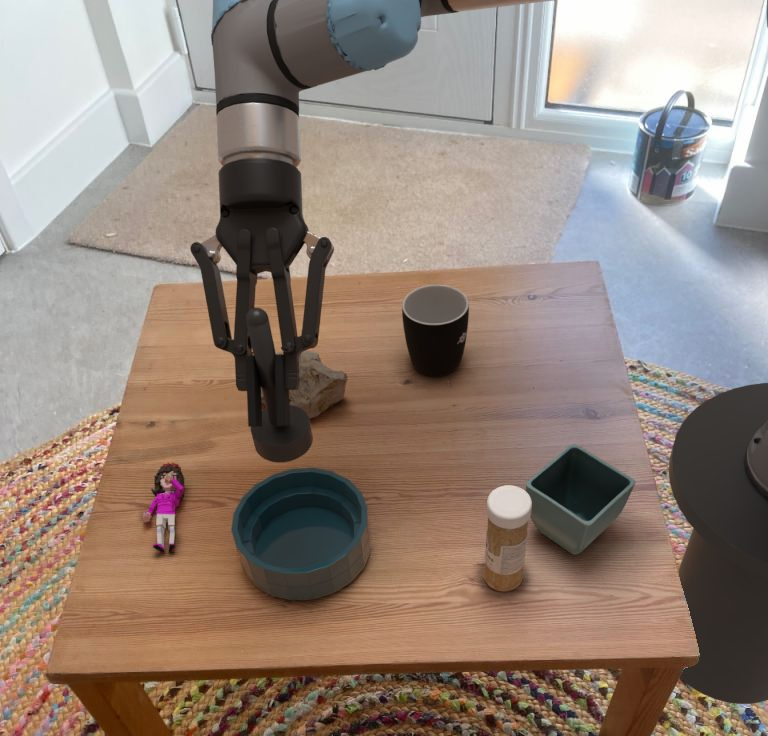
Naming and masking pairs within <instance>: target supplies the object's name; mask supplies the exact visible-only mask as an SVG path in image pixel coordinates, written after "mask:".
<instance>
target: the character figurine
mask: <svg viewBox="0 0 768 736" xmlns="http://www.w3.org/2000/svg"><path fill="white" fill-rule="evenodd" d="M179 465H180V464H179V463H174V462H167V463H162V465H160V466H159V469H158V470H157V472H156V474H155V475H154V476H153V478H154V480H153V481H154V483H153V484H154V488H151V489H150V491H151V493H152V494H153V495H154V496H155V497H154V498H153V500H152V502H151V504H150V505H149V507H148V510H147V511H145V512H143V514H142V516H141V519H142V522H143V523H147V522H150V521H151V519H152V515H153V513H154V511H155V523H156V525H155V526H156V541H157V542H156V543H153V544H152V548H153V549H155V551H157V552H159V554H160V553H164V552H165V550H166V549H165V541H166V539H165V530H166V529H167V531H168V532H169V541H168V553H174V550H175V537H176V530H175V527H176V525H175V523H176V522H175V521H176V508H178V507H179V505H180V504H179V503H180V501H181V500H182V498H183V497H185V494H184V490H185V476H184V474H183V472H182V467H181V466H179ZM155 509H156V510H155Z"/></svg>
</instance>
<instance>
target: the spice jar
mask: <svg viewBox="0 0 768 736" xmlns="http://www.w3.org/2000/svg"><path fill="white" fill-rule="evenodd" d="M531 509H532V501H531V498H530V496H529V494H528V493H527V492H526V489H524V488H522V487H519V486H517V485H510V484H507V485H501V486H498V487H496V488H494V489H493V490H492V491H490V493H489V495H488V497H487V501H486V516H487V527H486V536H485V549H484V568H483V571H482V577H483V580H484V582H485V584H486V585H487V586H488V587H489V588H492V589H493V590H495V591H497V592H509V591H510V592H511V591H513V590H515V589H517V588H518V587H519V586H520V585H521V584H522V581H523V579H524V573H523V572H524V571H523V570H524V564H525V558H526V550H527V542H528V535H529V534H528V529H529V520H530V519H531V518H530V516H531Z"/></svg>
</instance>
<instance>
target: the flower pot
mask: <svg viewBox="0 0 768 736" xmlns="http://www.w3.org/2000/svg"><path fill="white" fill-rule="evenodd" d="M635 485H636V479H634V478H633V477H632V476H630V475H628V474H626V473H625V472H623V471H621V470H619V469H617V468H616V467H614V466H613V465H611V464H610V463H608V462H607V461H604V459H601V458H600V457H598V456H597V455H595V454H594V453H592V452H590V451H588V450H587V449H586V448H584V447H582V446H581V445H579V444H576V443H572V444H569V445H568V446H567V447H566V448H565V449H563V450H562V451H561V452H560V453H559V454H557V456H556V457H555V458H553V459H552V460H551V461H550V462H549V463H548V464H546V465H545V466H544V467H543V468H542V469H540V470H539V471H537V473H535V474H534V475H533V476H531V478H529V479H528V480H527V481H526V482H525V491H526V492H527V493H528V494H529V496H530V498H531V501H532V509H531V516H530V518H529V519H530V520H531V522H532V523H533V525H534V526H535V528H537V530H538V531H539V532H540V533H541V534H542V535H544V536H545V537H546V538H548V539H549V540H551V541H552V542H554V543H555V544H557V545H558V546H560V547H561V548H562V549H564V550H565V551H567V552H568V553H570V554H571V555H579V554H581V553H582V552H583V551H584V550H585V549H586V548H588V546H589V545H590V544H591V543H592V542H593V541H595V540H596V539H597V538H598V537H599V536H600V535H601V534H602V533H603V532H604V531H605V530H607V529H608V527H610V526H611V525H612V524H613V522H615V521H616V520H617V518H619V516H620V515H621V514H622V512H623V511H624V508H625V506H626V505H627V502H628V501H629V498H630V497H631V495H632V491H633V490H634V488H635Z"/></svg>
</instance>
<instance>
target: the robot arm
mask: <svg viewBox="0 0 768 736" xmlns="http://www.w3.org/2000/svg"><path fill="white" fill-rule="evenodd" d="M553 1H555V0H212V20H211V21H212V25H211V33H210V40H211V46H212V56H213V57H212V58H213V69H214V87H215V88H214V90H215V107H216V108H215V112H216V113H215V114H216V115H215V116H216V117H215V118H216V145H217V146H216V148H217V161H218V163H219V164H220V165H221V167H220V169H219V171H218V195H219V221H218V223H217V225H216V228H215V232H214V233H215V234H214V235H212V236H211V237H209V238H208V239H206V240H204V241H203V242H199V241H195V242H192V243H191V245H190V248H189V250H190V252H191V255H192V256H193V258H194V260H195V261H196V264H197V265H198V267H199V268H200V275H201V280H202V286H203V291H204V296H205V302H206V307H207V313H208V319H209V323H210V329H211V336H212V341H213V344H214V346H215V348H217V349H219V350H221V351H224V352H227V353H231V355H232V356H233V357H234V369H235V386H236V389H237V391H239V392H246V397H247V398H246V402H247V403H246V404H247V427H248V428H251V427H262V410H263V407H262V405H263V403H261V384H260V380H259V375H258V371H257V367H256V362H255V358H254V354H253V350H252V345H251V341H250V337H249V332H248V328H247V324H246V315H247V313H248V311H249V310H251V309H252V308H255V306H256V305H255V304H256V303H255V302H256V286H257V284H258V275H259V274H261V273H264V272H269V273H270V274H271V279H272V284H273V291H274V297H275V305H276V312H277V319H278V320H277V321H278V326H279V335H280V342H281V346H280V350H281V351H282V352H283V354H278V355H274V356H275V383H276V410H277V426H290V406H289V390H298V388H299V385H300V378H299V356H300V354H301V353H302V352H303V351H309V350H310V349H315V348H316V347H317V346H318V344H319V336H320V326H321V317H322V307H323V306H322V305H323V299H324V290H325V289H324V287H325V279H326V269H327V267H328V264H329V263H330V260H331V258H332V256H333V254H334V253H335V252H334V251H335V247H334V245H333V242H332V241H331V239H330V238H328V237H327V236H322V237H321V236H319V235H317V234H315V233H312V231H310V230H309V227H308V225H307V223H306V221H305V219H304V215H303V188H302V186H303V185H302V172H301V171H300V170H299V168H298V166H299V165H300V164H301V162H302V158H301V157H302V155H301V132H300V129H301V128H300V92H301V91H305V90H308V89H313V88H316V87H318V86H321V85H325V84H328V83H332V82H334V81H335V82H336V81H337V80H338V81H339V80H341V79H345V78H349V77H351V76H355V75H357V74H362V73H365V72H370V71H372V70H374V71H377V70H380V69H382V68H385V67H386V66H387V64H390V63H392V62H395V61H398V60H400V59H402V58H403V59H404V57H406V56H408V55H409V54H410V53H411V52H412V51H414V49H415V48H416V46H417V44H418V42H419V34H418V33H419V31H421V26H422V18H425V17H432V16H439V15H447V14H455V13H459V12H460V13H461V12H467V11H475V10H476V11H477V10H485V9H493V8H502V7H509V6H518V5H528V4H535V3H544V2H553ZM766 27H767V28H768V0H766ZM304 245H306V255H307V257H308V258H309V262H308V268H307V279H306V288H305V297H304V307H303V316H302V317H303V318H302V328H301V335H299V336H298V329H297V322H296V314H295V307H294V299H293V291H292V284H291V283H292V278H291V272H290V267H291V265H292V264H293V262H294V260H295V259H296V257H297V256H298V254H299V253H300V251H301V250H302V248H303V247H304ZM221 249H224V251H225V252H226V253H227V255H228V256H229V258H230V259H231V260H232V261H233V262H234V264H235V265H236V270H235V276H236V291H235V292H236V294H235V312H234V327H233V331H234V332H233V337H232V332H231V331H232V330H231V326H230V321H229V314H228V309H227V308H228V307H227V304H226V298H225V292H224V287H223V281H222V276H221V272H220V268H219V266H218V264H219V263H220V262H221V259H222V256H221ZM744 467H745V471H746V474H747V477H748V479H749V481H750V482H751V484H752V485H753V487H754V488H755V489H756V490H757V491H758V492H759V493H760V494H761V495H762V496H763V497H764V498H765V499H767V500H768V421H767V422H766V423H765V424H764V425H763V426H762V427H761V428H760V429H759V430H758V431H757V432H756V433H755V434H754V436H753V437H752V439H751V441H750V443H749V445H748V448H747V451H746V453H745V457H744Z"/></svg>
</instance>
